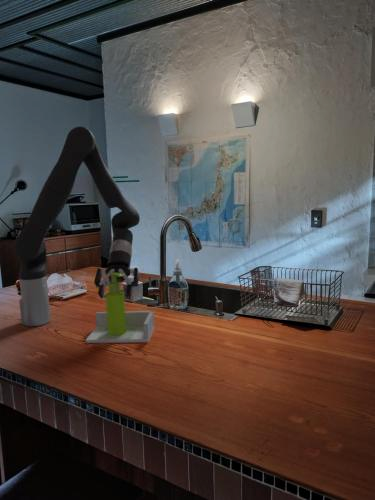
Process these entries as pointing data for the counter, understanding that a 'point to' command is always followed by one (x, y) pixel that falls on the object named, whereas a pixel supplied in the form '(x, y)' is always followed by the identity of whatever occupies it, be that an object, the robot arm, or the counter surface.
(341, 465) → the counter surface
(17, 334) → the counter surface
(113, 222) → the robot arm
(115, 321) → the soap dispenser
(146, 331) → the grey corner tray
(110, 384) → the counter surface
